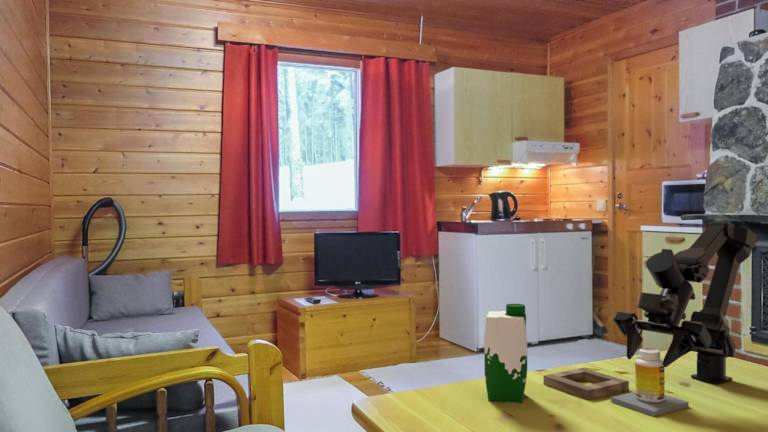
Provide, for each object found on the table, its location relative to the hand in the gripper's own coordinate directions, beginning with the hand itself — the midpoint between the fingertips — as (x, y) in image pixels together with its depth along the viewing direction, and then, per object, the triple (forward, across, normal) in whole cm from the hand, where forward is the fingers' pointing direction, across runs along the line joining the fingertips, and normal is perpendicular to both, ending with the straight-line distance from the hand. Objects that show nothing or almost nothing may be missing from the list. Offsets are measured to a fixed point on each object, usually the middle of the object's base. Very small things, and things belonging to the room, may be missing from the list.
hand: (645, 361), depth 121 cm
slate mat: (+5, 0, +7) cm, 9 cm away
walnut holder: (+5, -15, +7) cm, 18 cm away
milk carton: (+19, -22, -6) cm, 30 cm away
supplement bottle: (+5, 0, +7) cm, 8 cm away
